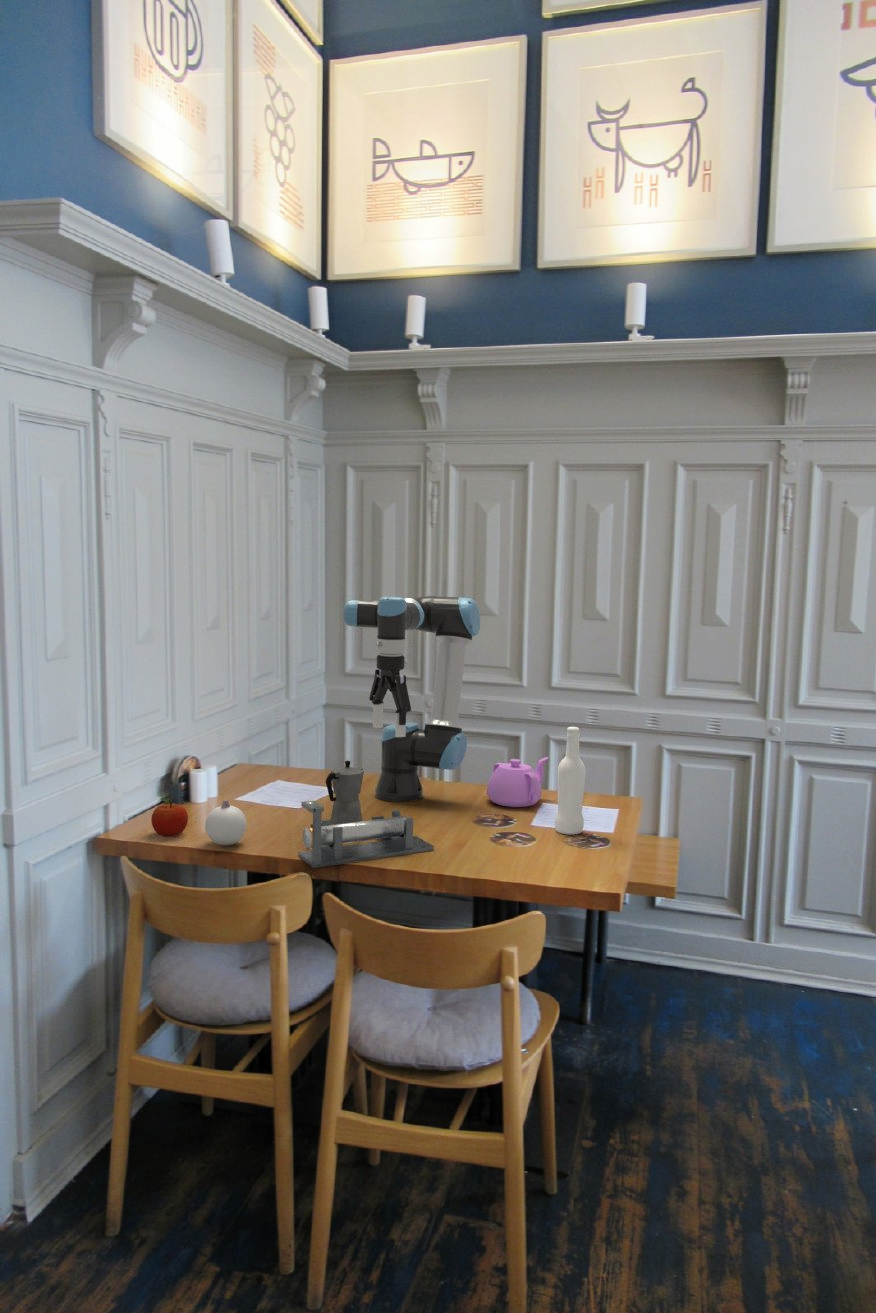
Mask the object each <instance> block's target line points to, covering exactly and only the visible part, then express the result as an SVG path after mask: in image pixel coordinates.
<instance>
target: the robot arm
mask: <svg viewBox="0 0 876 1313" xmlns="http://www.w3.org/2000/svg"><path fill="white" fill-rule="evenodd" d="M343 621H344V623H345V624H346V625H347V626H348V627H355V628H369V629H370V628H371V629H377V635H376V638H377V641H376V643H375V644H376V653H378V655H377V656H376V669H375V670H374V679H373V682H372V687H371V691H370V695H369V701H371V703H372V704H373V708H372V713H373V714H372V728H373V729H381V728H383V727H384V725H383V724H384V698H385V696H386V694H387V692H388V691H389V692H390V693H391V694H392V695H391V696H392V699H393V701H394V704H395V707H396V711H395V724H390V725H389V724H388V725H387V726H385V727H384V728H383V729H382V733H381V734H382V735H381V761H380V763H381V769H380V770H381V771H380V774H379V776H378V779H377V783H376V786H375V789H374V796H375V798H377V799H378V800H382V801H386V802H392V803H393V802H396V803H401V802H402V803H405V802H406V803H408V802H414V801H418V800H421V799H422V798H423V795H424V790H423V786H422V783H421V779H420V776H419V772H418V770H419V767H422V768H429V769H438V770H443V771H444V770H448V771H449V770H450V771H453V770H456V769H458V768H459V766H460V765H461V764H462V762H463V761H464V758H465V755H466V751H467V747H468V742H467V740H468V738H467V735H466V734H465V733H464V732H462V729H463V727H462V726H461V724H460V723H459V714H460V707H461V706H460V705H461V697H462V689H463V688H462V687H463V678H464V670H465V663H466V662H465V661H466V652H467V646H469V645H470V644H471V643H473V637H475V636H477V635H478V634H479V632H480V630H481V615H480V609H479V606H478V604H477V602H476V601H475V600H474V599H472V598H468V597H461V596H459V597H458V596H457V597H456V596H455V597H454V596H435V595H426V596H420V597H419V596H418V597H409V598H404V597H401V596H400V597H399V596H382V597H380V598H379V599H378V600H360V599H357V600H356V599H354V600H348V601H347V602H346V603H345V605H344V607H343ZM408 630H409V631H412V630H415V631H419V632H420V631H421V632H424V633H432V634H434V633H435V636H434V637H435V638H434V639H436V641H437V642H438V652H437V659H436V660H437V661H436V670H435V680H434V687H433V688H434V689H433V696H432V703H431V704H432V705H431V711H430V712H431V714H430V719H428V720H427V721H426V722H425V724H424V729H421V728H420V724H419V723H415V722H407V714H408V713H409V712H411V711H412V706H411V701H410V697H409V696H410V695H409V692H408V687H407V686H408V685H407V676H406V674H401V673H400V671H402V670H404V669H405V664H406V663H405V660H406V659H405V658H406V657H405V653H406V631H408Z"/></svg>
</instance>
